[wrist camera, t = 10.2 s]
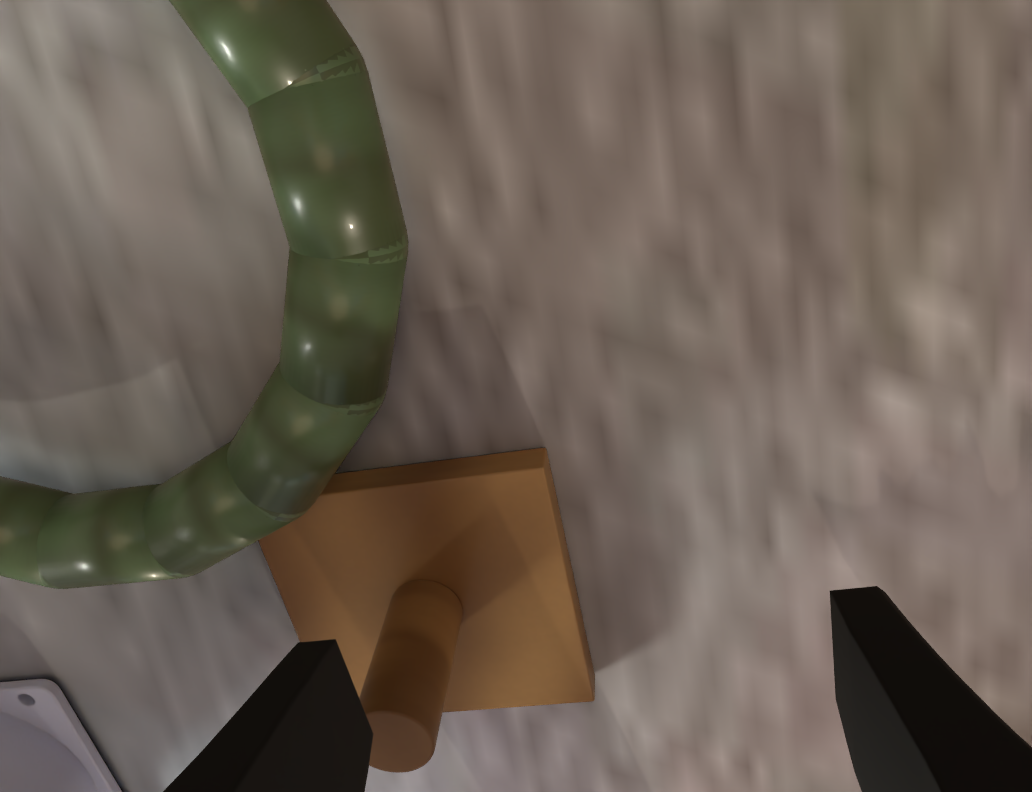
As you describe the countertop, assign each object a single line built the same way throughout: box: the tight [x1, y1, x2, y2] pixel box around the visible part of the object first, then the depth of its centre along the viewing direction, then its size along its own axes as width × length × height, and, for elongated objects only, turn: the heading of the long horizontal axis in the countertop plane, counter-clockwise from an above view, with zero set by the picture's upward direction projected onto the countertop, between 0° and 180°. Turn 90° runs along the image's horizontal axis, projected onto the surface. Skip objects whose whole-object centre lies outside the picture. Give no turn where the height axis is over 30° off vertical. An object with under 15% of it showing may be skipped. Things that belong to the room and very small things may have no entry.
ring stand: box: [258, 448, 595, 772], centre depth 22 cm, size 8×8×6 cm
